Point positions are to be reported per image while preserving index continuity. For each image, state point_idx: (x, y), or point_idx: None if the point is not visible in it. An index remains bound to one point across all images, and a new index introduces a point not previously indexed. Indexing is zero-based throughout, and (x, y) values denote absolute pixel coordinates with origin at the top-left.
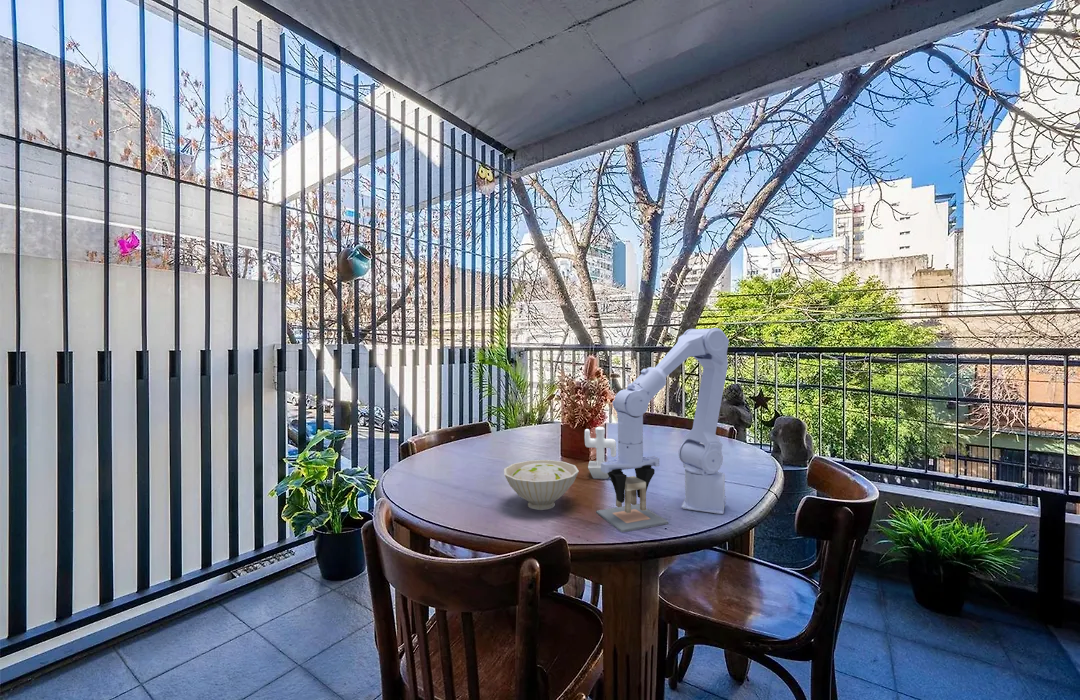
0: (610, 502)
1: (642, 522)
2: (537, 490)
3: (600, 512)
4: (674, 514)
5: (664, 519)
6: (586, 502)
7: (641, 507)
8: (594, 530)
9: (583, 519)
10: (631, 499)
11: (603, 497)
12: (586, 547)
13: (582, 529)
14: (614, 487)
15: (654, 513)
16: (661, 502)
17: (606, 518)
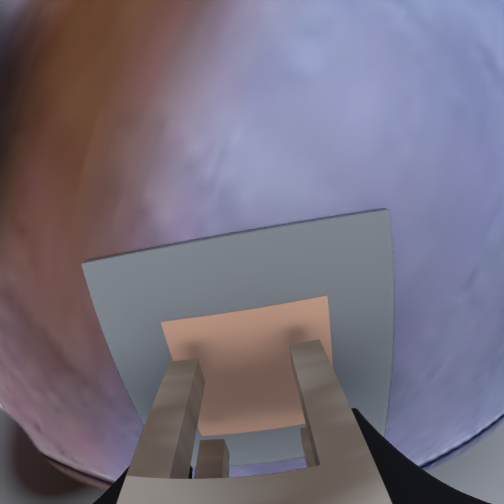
0: (221, 100)
1: (277, 440)
2: None
3: (99, 293)
4: (461, 349)
5: (384, 422)
6: (80, 87)
7: (303, 450)
8: (75, 418)
9: (33, 319)
10: (295, 371)
11: (209, 16)
12: (65, 473)
13: (38, 396)
14: (111, 494)
15: (389, 365)
16: (494, 195)
17: (119, 372)
